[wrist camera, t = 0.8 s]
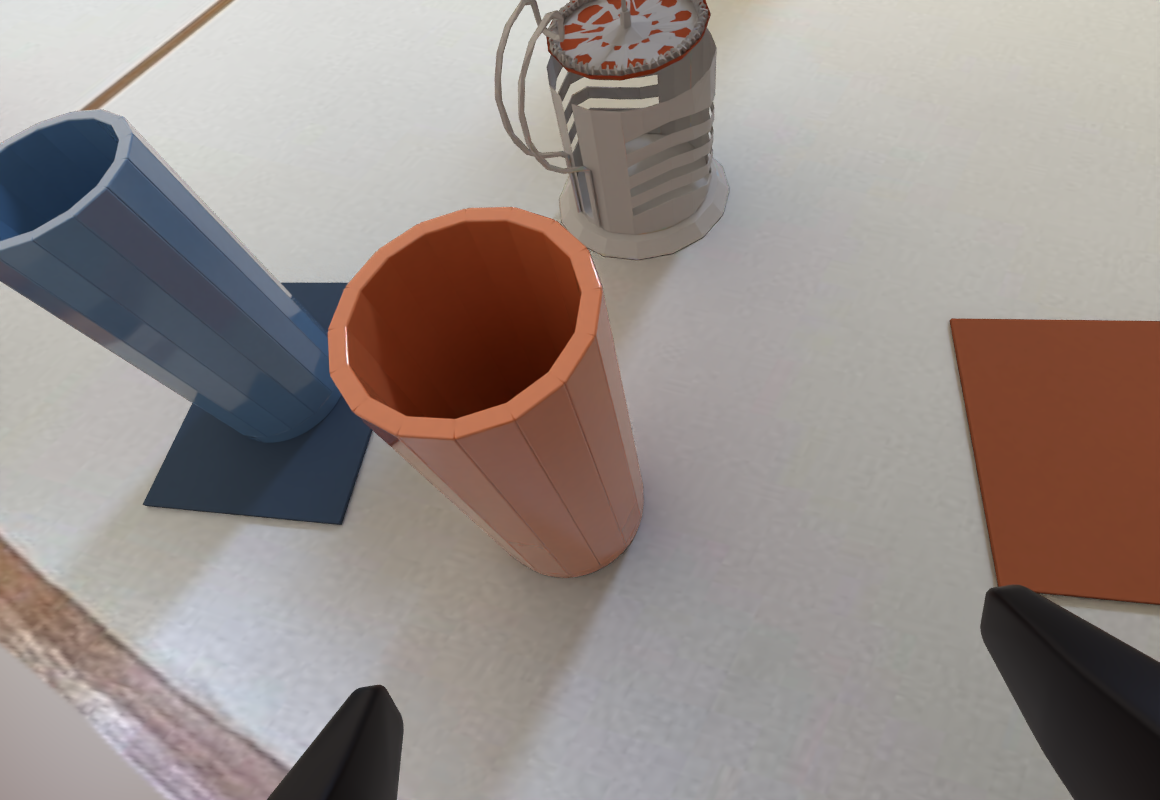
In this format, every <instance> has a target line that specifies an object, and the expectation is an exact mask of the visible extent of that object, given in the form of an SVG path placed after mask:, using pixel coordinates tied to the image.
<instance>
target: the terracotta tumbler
mask: <svg viewBox="0 0 1160 800" xmlns="http://www.w3.org/2000/svg"><path fill="white" fill-rule="evenodd" d="M328 330H329V331H328V352H329V373H330V377H331V379H332V380H333V382H334V383H335V385H336V387H337V388H338V390H339V391H340V393H341V395H342V396H343V398H344V399H345V401H346V403H347V404H348V406H349V407H350V409H351V411H352V412H353V413H354V414H355V415H356V416H358V417H359V418H360V419H361V420H362V421H363V422H364V423H365V424H366V425H367V426H369V427H370V428H371V429H372V430H373V431H374V432H375V433H376V434H377V435H378V436H380V437H381V438H382V439H383V440H384V441H385V442H386V443H387V444H388V445H390V446H391V447H392V448H393V449H394V450H395V451H396V452H397V453H398V454H399V455H401V456H402V457H403V458H404V459H405V460H406V461H407V462H408V463H409V464H410V465H412V466H413V467H414V468H415V469H416V470H417V471H418V472H419V473H420V474H422V475H423V476H424V477H425V478H426V479H427V480H428V481H429V482H430V483H431V484H433V485H434V486H435V487H436V488H437V489H438V490H439V491H440V492H441V493H442V494H444V495H445V496H446V497H447V498H448V499H449V500H450V501H451V502H452V503H453V504H455V505H456V506H457V507H458V508H459V509H460V510H461V511H462V512H463V513H465V514H466V515H467V516H468V517H469V518H470V519H471V520H472V521H473V522H474V523H476V524H477V525H478V526H479V527H480V528H481V529H482V530H483V531H484V532H485V533H487V534H488V535H489V536H490V537H491V538H492V539H493V540H494V541H495V542H496V543H498V544H499V545H500V546H501V547H502V548H503V549H504V550H505V551H506V552H508V553H509V554H510V555H511V556H512V557H513V558H515V559H517V560H518V561H520V562H521V563H522V564H524V565H525V566H526V567H528V568H530V569H532V570H534V571H536V572H538V573H541V574H544V575H547V576H552V577H562V578H569V577H578V576H583V575H587V574H590V573H592V572H595V571H598V570H599V569H601V568H603V567H605V566H607V565H608V564H610V563H611V562H612V561H614V560H615V559H616V558H617V557H618V556H619V555H620V554H622V553H623V551H624V550H625V549H626V548H627V547H628V545H629V544H630V542H631V541H632V539H633V538H634V536H635V534H636V532H637V530H638V527H639V525H640V521H641V518H642V513H643V502H644V496H643V482H642V478H641V473H640V468H639V463H638V458H637V453H636V448H635V443H634V438H633V434H632V429H631V424H630V419H629V414H628V409H627V404H626V399H625V395H624V390H623V385H622V380H621V375H620V370H619V365H618V360H617V356H616V351H615V346H614V341H613V336H612V331H611V326H610V321H609V317H608V312H607V307H606V302H605V297H604V292H603V287H602V285H601V282H600V279H599V276H598V274H597V271H596V268H595V265H594V263H593V260H592V257H591V254H590V252H589V250H588V249H587V247H586V246H585V245H584V244H582V243H581V242H580V241H579V240H578V239H577V238H576V237H574V236H573V235H572V234H571V233H570V232H569V231H568V230H567V229H565V228H564V227H563V226H562V225H561V224H560V223H559V222H558V221H555V220H554V219H551V218H548V217H544V216H541V215H538V214H535V213H532V212H529V211H525V210H522V209H519V208H516V207H514V208H513V207H486V208H467V209H462V210H458V211H455V212H452V213H449V214H446V215H443V216H440V217H436V218H433V219H430V220H427V221H424V222H421V223H420V224H417V225H415V226H413V227H412V228H410V229H409V230H407V231H406V232H404V233H403V234H401V235H400V236H398V237H397V238H395V239H393V240H392V241H390V242H389V243H387V244H386V245H384V246H383V247H381V248H380V249H378V251H376V252H375V253H374V254H373V255H372V256H371V258H370V259H369V260H368V261H367V262H366V263H365V265H364V266H363V267H362V268H361V269H360V270H359V271H358V273H357V274H356V275H355V276H354V277H353V278H352V280H351V281H350V282H349V283H348V284H347V285H346V288H345V289H344V290H343V293H342V295H341V298H340V300H339V303H338V305H337V308H336V310H335V313H334V315H333V318H332V320H331V323H330V325H329V328H328Z"/></svg>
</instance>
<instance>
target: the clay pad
mask: <svg viewBox="0 0 1160 800" xmlns="http://www.w3.org/2000/svg"><path fill="white" fill-rule="evenodd" d="M950 325H951V330H952V336H953V341H954V347H955V352H956V358H957V363H958V369H959V374H960V379H961V385H962V390H963V396H964V401H965V407H966V412H967V418H968V423H969V429H970V434H971V440H972V445H973V451H974V456H975V462H976V467H977V473H978V478H979V483H980V489H981V494H982V500H983V505H984V511H985V516H986V522H987V527H988V533H989V538H990V544H991V549H992V555H993V560H994V566H995V571H996V577H997V582H998V587H1000V586H1007V585H1022V586H1024V587H1027V588H1029V589H1031V590H1032V591H1034V592H1036V593H1044V594H1054V595H1064V596H1074V597H1085V598H1095V599H1105V600H1115V601H1126V602H1136V603H1146V604H1156V605H1160V321H1102V320H1024V319H951V320H950Z"/></svg>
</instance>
